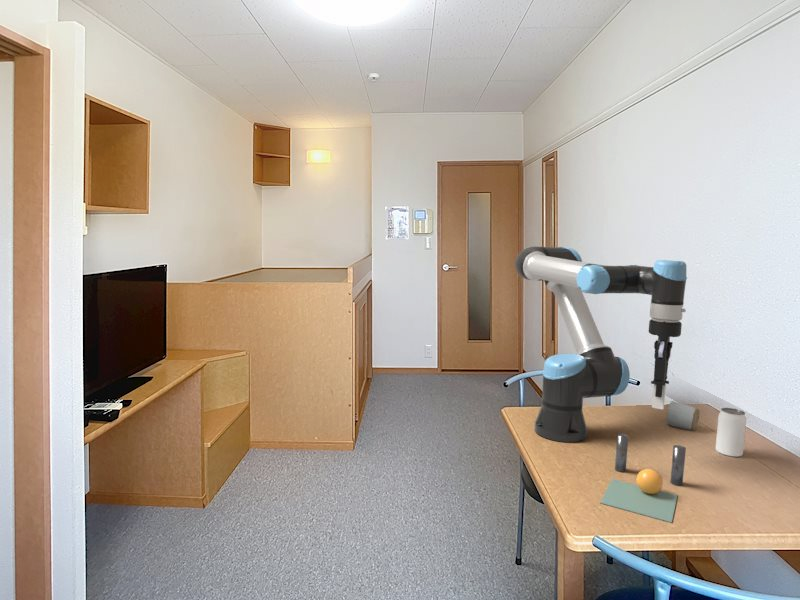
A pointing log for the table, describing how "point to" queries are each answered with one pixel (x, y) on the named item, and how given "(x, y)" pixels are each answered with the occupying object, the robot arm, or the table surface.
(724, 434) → the can
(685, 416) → the grey lying cylinder
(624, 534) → the table surface
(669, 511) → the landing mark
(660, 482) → the ball
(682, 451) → the post right
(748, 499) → the table surface
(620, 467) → the post left
